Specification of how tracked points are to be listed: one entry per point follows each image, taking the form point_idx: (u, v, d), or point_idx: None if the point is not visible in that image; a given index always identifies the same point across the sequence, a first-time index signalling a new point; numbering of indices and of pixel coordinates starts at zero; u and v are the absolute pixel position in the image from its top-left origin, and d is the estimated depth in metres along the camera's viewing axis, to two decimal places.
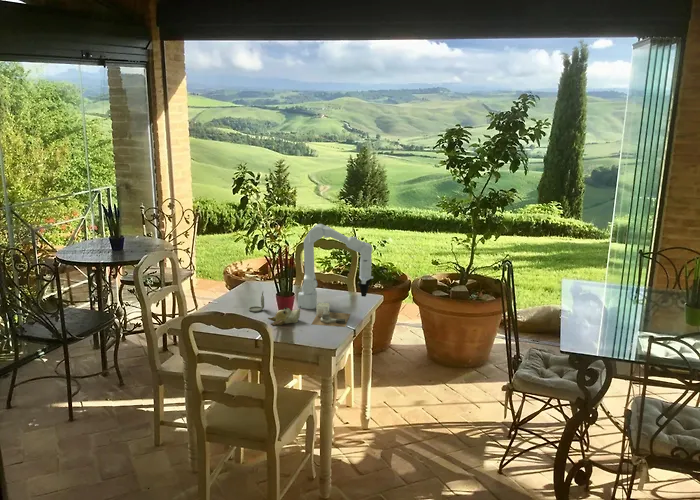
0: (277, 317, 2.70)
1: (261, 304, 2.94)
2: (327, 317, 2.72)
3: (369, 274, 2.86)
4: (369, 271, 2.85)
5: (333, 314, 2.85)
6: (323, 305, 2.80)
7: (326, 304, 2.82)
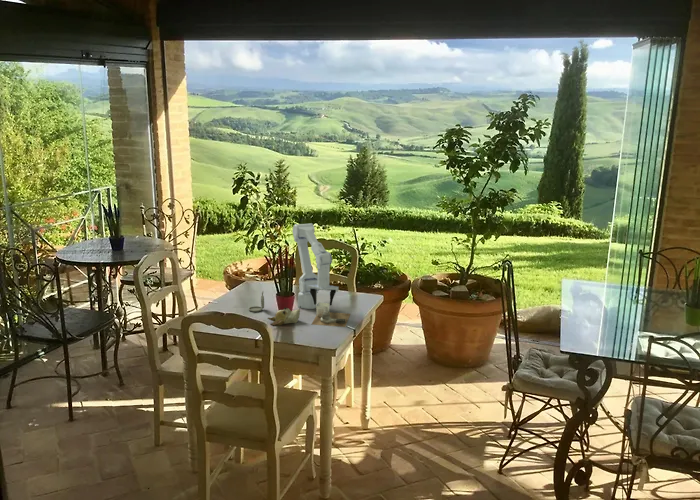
0: (277, 317, 2.70)
1: (261, 304, 2.94)
2: (327, 317, 2.72)
3: (319, 284, 2.77)
4: (318, 281, 2.77)
5: (333, 314, 2.85)
6: (323, 305, 2.80)
7: (326, 304, 2.82)
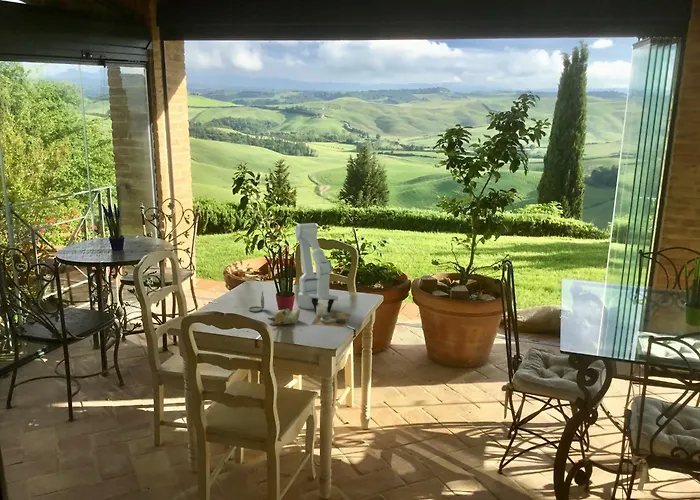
0: (276, 317, 2.69)
1: (261, 304, 2.94)
2: (327, 317, 2.72)
3: (318, 293, 2.78)
4: (318, 290, 2.78)
5: (333, 314, 2.85)
6: (323, 305, 2.80)
7: (326, 304, 2.82)
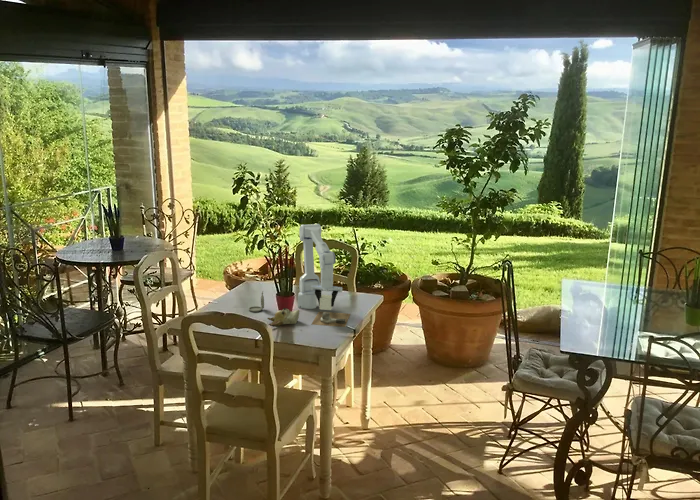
0: (275, 317, 2.69)
1: (261, 304, 2.94)
2: (327, 317, 2.72)
3: (322, 284, 2.69)
4: (322, 281, 2.68)
5: (333, 314, 2.85)
6: (327, 297, 2.71)
7: (330, 296, 2.72)
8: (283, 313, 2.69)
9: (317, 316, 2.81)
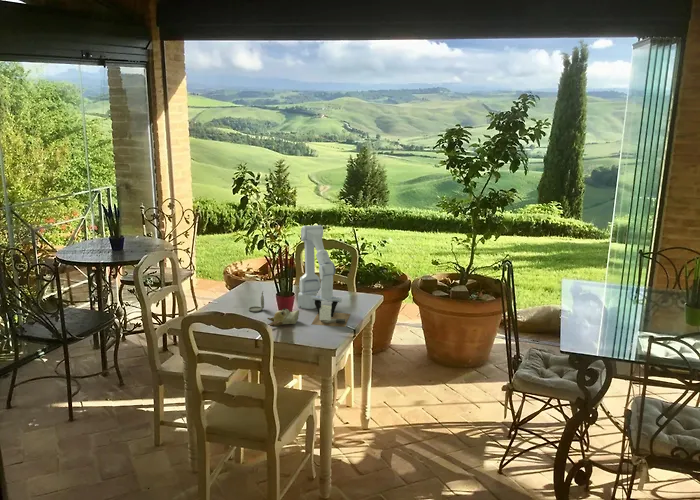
0: (275, 318, 2.69)
1: (261, 304, 2.94)
2: None
3: (322, 295, 2.70)
4: (321, 292, 2.69)
5: None
6: (326, 307, 2.72)
7: (330, 307, 2.73)
8: (282, 313, 2.69)
9: (317, 316, 2.81)
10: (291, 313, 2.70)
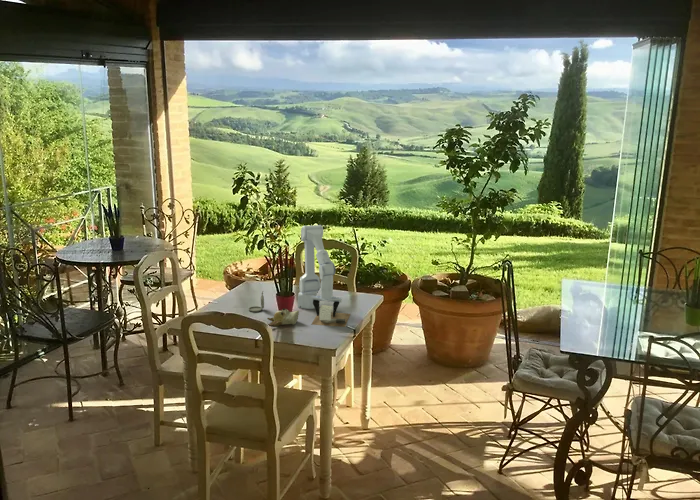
0: (275, 318, 2.69)
1: (261, 304, 2.94)
2: None
3: (322, 295, 2.70)
4: (321, 292, 2.69)
5: None
6: (326, 308, 2.72)
7: (330, 307, 2.73)
8: (282, 313, 2.68)
9: (317, 316, 2.81)
10: (291, 313, 2.70)
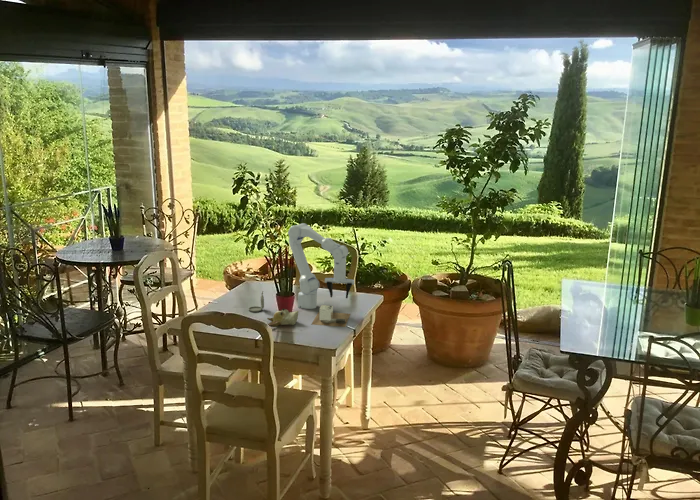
0: (274, 318, 2.69)
1: (261, 304, 2.94)
2: None
3: (335, 277, 2.82)
4: (335, 274, 2.81)
5: (333, 314, 2.85)
6: (326, 308, 2.72)
7: (330, 307, 2.73)
8: (281, 314, 2.68)
9: (317, 316, 2.81)
10: (290, 314, 2.70)
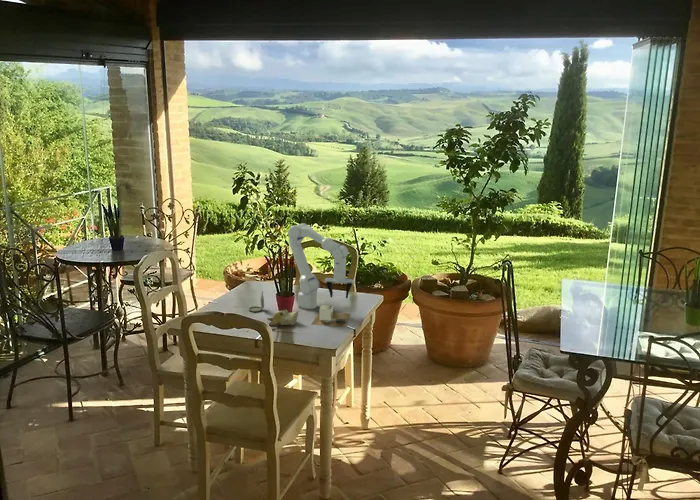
0: (273, 318, 2.68)
1: (261, 304, 2.94)
2: None
3: (335, 277, 2.82)
4: (335, 274, 2.81)
5: (333, 314, 2.85)
6: (326, 308, 2.72)
7: (330, 307, 2.73)
8: (281, 314, 2.68)
9: (317, 316, 2.81)
10: (290, 314, 2.69)
